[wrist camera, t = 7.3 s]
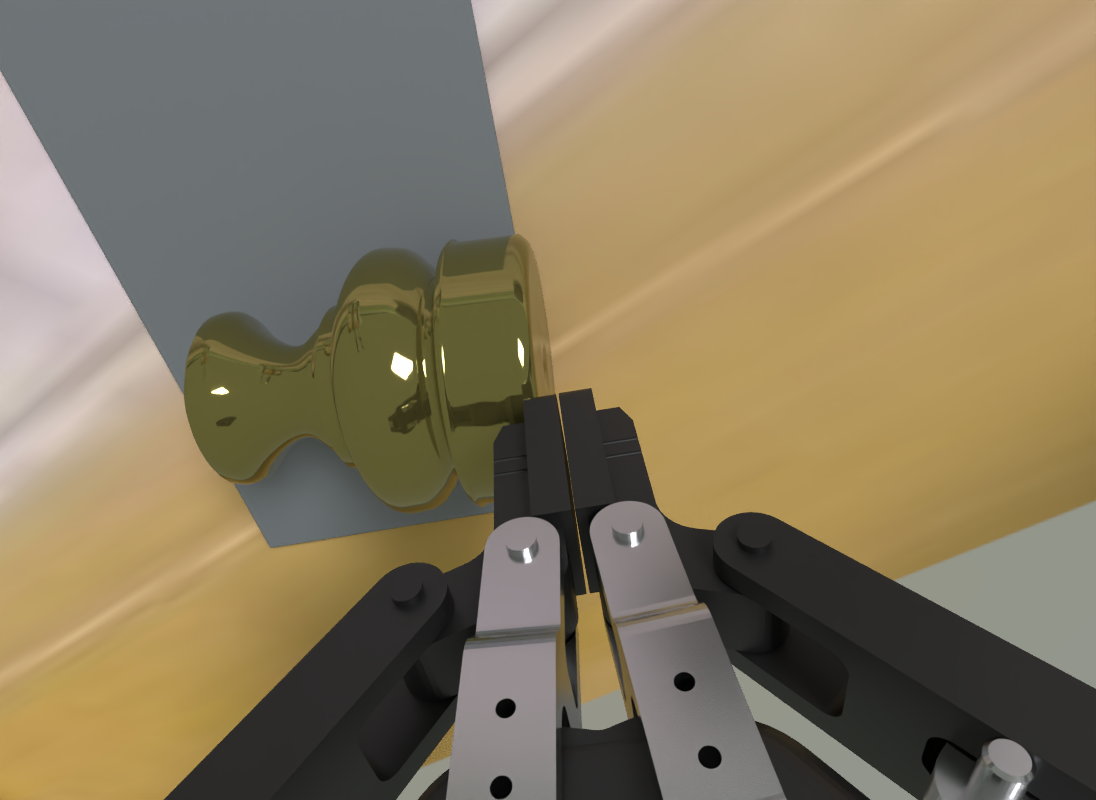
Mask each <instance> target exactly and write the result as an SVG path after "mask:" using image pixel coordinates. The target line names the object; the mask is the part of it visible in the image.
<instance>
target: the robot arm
mask: <svg viewBox="0 0 1096 800" xmlns="http://www.w3.org/2000/svg"><path fill="white" fill-rule="evenodd" d="M559 400H560V407H561V414H562V421H563V428H564V435H565V442H566V448H565V442H564V437H563V431H562V425H561V420H560V414H559V408H558V403H557V397H556V394H553V395H547V396H541V397H535V398H528V399H523V407H524V423H518V424H512V425H506V426H503V427H502V428H501V430H500V432H499V434H498V435H497V437H496V439H495V441H494V443H493V454H494V531H493V532H492V533H491V535H490V536H489V538H488V539H487V542H486V544H485V550H484V551H483V552H482V553H481V554H480V555H478V556H477V557H476V558H475V559H473V560H471V561H470V562H468V563H466V564H464V565H462V566H460V567H457V568H455V569H453V570H451V571H448V572H446V573H444V574H443V573H442V571H441V570H440V569H438V568H437V567H435V566H433V565H430V564H427V563H410V564H406V565H403V566H400V567H398V568H396V569H394V570H392V571H390V572H389V573H387V574H386V575H385V576H384V577H383V578H381V579H380V580H379V581H378V582H377V583H376V584H375V585H374V586H373V587H372V589H371V590H370V591H369V592H368V593H367V594H366V595H365V596H364V597H363V598H362V599H361V600H360V601H359V602H358V603H357V604H356V605H355V606H354V607H353V608H352V609H351V610H350V611H349V612H348V613H347V614H346V615H345V616H344V617H343V618H342V619H341V620H340V621H339V622H338V623H337V624H336V625H335V626H334V627H333V628H332V629H331V630H330V631H329V632H328V633H327V634H326V635H325V636H324V637H323V638H322V639H321V640H320V641H319V642H318V643H317V644H316V645H315V646H314V647H313V649H312V650H311V651H310V652H309V653H308V654H307V655H306V656H305V657H304V658H303V659H302V660H301V661H300V662H299V663H298V664H297V665H296V666H295V667H294V668H293V669H292V670H291V671H290V672H289V673H288V674H287V675H286V676H285V677H284V678H283V679H282V680H281V681H280V682H279V683H278V684H277V685H276V686H275V687H274V688H273V689H272V690H271V691H270V692H269V693H268V694H267V695H266V696H265V697H264V698H263V699H262V700H261V701H260V702H259V703H258V704H257V705H256V706H255V707H254V708H253V710H252V711H251V712H250V713H249V714H248V715H247V716H246V717H245V718H244V719H243V720H242V721H241V722H240V723H239V724H238V725H237V726H236V727H235V728H234V729H233V730H232V731H231V732H230V733H229V734H228V735H227V736H226V737H225V738H224V739H223V740H222V741H221V742H220V743H219V744H218V745H217V746H216V747H215V748H214V749H213V750H212V751H211V752H210V753H209V754H208V755H207V756H206V757H205V758H204V759H203V760H202V761H201V762H200V763H199V764H198V765H197V766H196V767H195V768H194V769H193V771H192V772H191V773H190V774H189V775H188V776H187V777H186V778H185V779H184V780H183V781H182V782H181V783H180V784H179V785H178V786H177V787H176V788H175V789H174V790H173V791H172V792H171V793H170V794H169V795H168V796H167V797H166V798H165V799H164V800H396V799H397V798H398V796H399V795H400V794H401V792H402V791H403V790H404V788H405V787H406V786H407V784H408V783H409V782H410V780H411V779H412V778H413V776H414V775H415V774H416V773H417V771H418V770H419V769H420V767H421V766H422V765H423V763H424V762H425V761H426V759H427V758H428V757H429V755H430V754H431V753H432V751H433V750H434V749H435V747H436V746H437V745H438V743H439V742H440V741H441V739H442V738H443V737H444V735H445V734H446V733H447V732H448V730H449V729H450V728H451V726H452V725H453V724H454V722H455V727H454V735H453V744H452V752H451V761H450V769H448V770H447V771H446V772H444V773H443V774H442V775H441V776H440V777H439V778H437V779H436V780H435V781H434V782H433V783H432V784H431V785H430V786H429V787H428V788H427V790H426V791H425V792H424V793H423V794H422V795H421V796H420V798H419V799H418V800H870V799H869V798H868V797H866V796H865V795H864V794H863V793H862V792H860V791H859V790H858V789H857V788H855V787H854V786H853V785H852V784H850V783H849V782H848V781H847V780H845V779H844V778H843V777H841V776H840V775H839V774H838V773H837V772H836V771H834V770H833V769H832V768H831V767H829V766H828V765H827V764H826V763H824V762H823V761H822V760H821V759H819V758H818V757H817V756H816V755H814V754H813V753H812V752H811V751H809V750H808V749H807V748H805V747H804V746H803V745H802V744H800V743H799V742H797V741H796V740H794V739H793V738H791V737H789V736H788V735H786V734H785V733H783V732H781V731H779V730H777V729H774V728H772V727H770V726H768V725H765V724H762V723H759V722H756V721H754V719H753V716H752V714H751V711H750V709H749V706H748V704H747V702H746V699H745V697H744V694H743V692H742V689H741V687H740V685H739V682H738V679H737V677H736V674H735V672H734V670H733V667H732V665H734V666H735V667H736V668H738V669H739V670H741V671H742V672H743V673H745V674H746V675H747V676H749V677H750V678H752V679H753V680H754V681H756V682H757V683H758V684H760V685H761V686H763V687H764V688H765V689H767V690H768V691H770V692H771V693H772V694H774V695H775V696H776V697H778V698H779V699H781V700H782V701H783V702H784V703H786V704H787V705H789V706H790V707H791V708H793V709H794V710H796V711H797V712H798V713H800V714H801V715H802V716H804V717H805V718H807V719H808V720H809V721H811V722H812V723H813V724H815V725H816V726H817V727H819V728H820V729H822V730H823V731H824V732H826V733H827V734H828V735H830V736H831V737H833V738H834V739H836V740H837V741H838V742H840V743H841V744H842V745H844V746H845V747H847V748H848V749H849V750H851V751H852V752H853V753H855V754H856V755H857V756H859V757H860V758H861V759H863V760H864V761H866V762H867V763H868V764H870V765H871V766H872V767H874V768H875V769H877V770H878V771H879V772H881V773H882V774H883V775H885V776H886V777H888V778H889V779H890V780H892V781H893V782H894V783H896V784H897V785H899V786H900V787H901V788H903V789H904V790H906V791H907V792H908V793H910V794H911V795H912V796H914V797H915V798H916V799H918V800H1096V689H1095V688H1093V687H1091V686H1089V685H1087V684H1086V683H1084V682H1082V681H1080V680H1078V679H1076V678H1074V677H1072V676H1071V675H1069V674H1067V673H1065V672H1063V671H1061V670H1059V669H1057V668H1056V667H1054V666H1052V665H1050V664H1048V663H1046V662H1044V661H1042V660H1040V659H1039V658H1037V657H1035V656H1033V655H1031V654H1029V653H1028V652H1026V651H1024V650H1022V649H1020V648H1018V647H1016V646H1014V645H1013V644H1010V643H1009V642H1007V641H1005V640H1003V639H1001V638H1000V637H998V636H996V635H994V634H992V633H990V632H988V631H986V630H985V629H983V628H981V627H979V626H977V625H975V624H973V623H971V622H970V621H968V620H966V619H964V618H962V617H960V616H958V615H957V614H955V613H953V612H951V611H949V610H947V609H945V608H943V607H941V606H940V605H938V604H936V603H934V602H932V601H930V600H928V599H927V598H925V597H923V596H921V595H919V594H917V593H915V592H914V591H912V590H909V589H908V588H906V587H904V586H902V585H900V584H899V583H897V582H895V581H893V580H891V579H889V578H887V577H885V576H884V575H882V574H880V573H878V572H876V571H874V570H872V569H871V568H869V567H867V566H865V565H863V564H861V563H859V562H857V561H856V560H854V559H852V558H850V557H848V556H846V555H844V554H842V553H841V552H839V551H837V550H835V549H833V548H831V547H829V546H827V545H826V544H824V543H822V542H820V541H818V540H816V539H814V538H813V537H811V536H809V535H807V534H805V533H803V532H801V531H799V530H798V529H796V528H794V527H792V526H790V525H788V524H786V523H784V522H783V521H781V520H779V519H777V518H775V517H772V516H770V515H766V514H762V513H754V512H747V513H740V514H736V515H733V516H730V517H728V518H727V519H725V520H724V521H722V522H721V523H720V524H719V525H718V526H717V528H716V530H705V529H696V528H689V527H686V526H682V525H680V524H677V523H675V522H673V521H671V520H670V519H668V518H667V517H666V516H665V515H664V514H663V513H662V512H661V511H660V510H659V508H658V507H657V504H656V502H655V498H654V495H653V491H652V487H651V484H650V480H649V477H648V473H647V469H646V466H645V462H644V459H643V455H642V452H641V448H640V444H639V441H638V437H637V433H636V430H635V426H634V423H633V420H632V419H631V418H630V417H629V416H628V415H627V414H626V413H625V412H624V411H623V410H622V409H621V408H620V407H616V408H610V409H604V410H598V411H596V408H595V403H594V398H593V394H592V389H591V388H589V389H583V390H577V391H571V392H564V393H559ZM566 449H567V454H566ZM567 456H568V460H567ZM568 463H569V466H568ZM569 470H570V473H569ZM570 477H571V480H570ZM571 485H572V487H571ZM572 492H573V494H572ZM573 499H574V501H573ZM574 506H575V508H574ZM575 512H576V515H575ZM576 518H577V523H578V529H579V535H580V540H581V546H582V551H583V557H584V563H585V568H586V574H587V580H588V585H589V591H590V593H595V592H600V598H601V604H602V610H603V616H604V622H605V628H606V633H607V637H608V640H609V644H610V648H611V652H612V656H613V660H614V664H615V668H616V672H617V676H618V680H619V684H620V688H621V692H622V696H623V700H624V704H625V708H626V712H627V717H628V720H626V721H624V722H621V723H619V724H617V725H615V726H612V727H610V728H607V729H604V730H589V729H582V720H581V692H580V663H579V634H578V627H577V623H578V608H577V600H576V596H577V595H583V594H586V587H585V579H584V572H583V565H582V558H581V551H580V544H579V537H578V530H577V523H576ZM731 664H732V665H731Z"/></svg>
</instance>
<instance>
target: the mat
mask: <svg viewBox="0 0 1096 800" xmlns="http://www.w3.org/2000/svg"><path fill="white" fill-rule="evenodd" d="M0 70H1V72H2V74H3V76H4V77H5V79H6V81H7V83H8V85H9V86H10V88H11V90H12V92H13V93H14V95H15V97H16V99H17V100H18V102H19V104H20V106H21V108H22V109H23V111H24V113H25V115H26V116H27V118H28V120H29V122H30V123H31V125H32V127H33V129H34V130H35V132H36V134H37V136H38V138H39V139H40V141H41V143H42V145H43V146H44V148H45V150H46V152H47V153H48V155H49V157H50V159H51V161H52V162H53V164H54V166H55V168H56V169H57V171H58V173H59V175H60V176H61V178H62V180H63V182H64V184H65V185H66V187H67V189H68V191H69V192H70V194H71V196H72V198H73V199H74V201H75V203H76V205H77V207H78V208H79V210H80V212H81V214H82V215H83V217H84V219H85V221H86V222H87V224H88V226H89V228H90V230H91V231H92V233H93V235H94V237H95V238H96V240H97V242H98V244H99V245H100V247H101V249H102V251H103V253H104V254H105V256H106V258H107V260H108V261H109V263H110V265H111V267H112V268H113V270H114V272H115V274H116V276H117V277H118V279H119V281H120V283H121V284H122V286H123V288H124V290H125V291H126V293H127V295H128V297H129V299H130V300H131V302H132V304H133V306H134V307H135V309H136V311H137V313H138V314H139V316H140V318H141V320H142V322H143V323H144V325H145V327H146V329H147V330H148V332H149V334H150V336H151V337H152V339H153V341H154V343H155V345H156V346H157V348H158V350H159V352H160V353H161V355H162V357H163V359H164V360H165V362H166V364H167V366H168V367H169V369H170V371H171V373H172V375H173V376H174V378H175V380H176V382H177V383H178V385H179V387H180V389H181V390H182V392H183V394H184V377H185V367H186V361H187V357H188V353H189V349H190V346H191V344H192V341H193V339H194V337H195V335H196V333H197V331H198V330H199V328H200V327H201V326H202V324H203V323H204V322H205V321H206V320H207V319H209V318H210V317H212V316H214V315H217V314H220V313H224V312H229V311H239V312H243V313H246V314H249V315H251V316H253V317H254V318H256V319H257V320H259V321H260V322H261V323H262V324H263V325H265V327H266V328H267V329H268V330H269V331H270V332H271V333H272V335H274V336H275V337H276V338H277V339H279V340H280V341H282V342H284V343H286V344H289V345H293V346H299V345H302V344H304V343H305V342H307V341H308V340H309V338H310V337H311V336H312V335H313V334H314V332H315V331H316V330H317V329H318V328H319V326H320V323H321V321H322V319H323V317H324V315H325V314H326V312H327V311H328V310H329V309H330V308H331V307H333V306H334V305H337V302H338V298H339V295H340V292H341V289H342V287H343V284H344V282H345V280H346V278H347V276H348V274H349V272H350V271H351V269H352V268H353V266H354V265H355V264H356V262H357V261H358V260H359V259H360V258H361V257H363V256H364V255H365V254H367V253H368V252H370V251H372V250H375V249H378V248H384V247H393V248H407V249H410V250H413V251H415V252H416V253H418V254H419V255H421V256H422V257H423V258H425V259H426V260H427V261H428V262H429V263H430V264H431V265H432V266H433V267H434V268H435V269H436V267H437V262H438V258H439V255H440V253H441V251H442V249H443V247H444V246H445V245H446V244H447V243H448V242H449V241H450V240H451V239H455V240H457V241H458V242H460V241H468V240H476V239H483V238H491V237H499V236H506V235H514V234H515V233H514V227H513V222H512V217H511V211H510V206H509V201H508V196H507V190H506V185H505V180H504V174H503V169H502V164H501V158H500V153H499V148H498V142H497V137H496V132H495V127H494V121H493V116H492V111H491V105H490V100H489V95H488V89H487V84H486V79H485V73H484V68H483V63H482V58H481V52H480V47H479V42H478V36H477V31H476V26H475V20H474V15H473V10H472V4H471V0H0ZM234 484H235V486H236V488H237V490H238V491H239V493H240V495H241V497H242V498H243V500H244V502H245V504H246V505H247V507H248V509H249V511H250V513H251V514H252V516H253V518H254V520H255V521H256V523H257V525H258V527H259V528H260V530H261V532H262V534H263V536H264V537H265V539H266V541H267V543H268V544H269V546H270V548H273V547H279V546H285V545H292V544H298V543H304V542H310V541H317V540H323V539H329V538H335V537H342V536H348V535H354V534H360V533H367V532H373V531H379V530H385V529H391V528H398V527H404V526H410V525H416V524H423V523H429V522H435V521H441V520H448V519H454V518H460V517H466V516H473V515H479V514H485V513H491V512H494V503H488V504H487V505H486V506H485V507H480V506H478V505H477V504H475V503H474V502H472V501H471V500H470V498H469V497H468V496H467V494H466V493H465V491H464V489H463V487H462V485H461V483H459V485H458V486H457V488H456V489H455V491H454V492H453V494H452V495H451V496H450V497H449V498H448V499H447V500H446V501H445V502H444V503H443V504H442V505H441V506H439V507H437V508H435V509H431V510H427V511H423V512H418V513H403V512H399V511H396V510H394V509H392V508H390V507H388V506H387V505H386V504H384V503H383V502H382V501H381V500H379V499H378V498H377V497H376V496H375V495H374V493H373V492H372V491H371V490H370V489H369V487H368V486H367V485H366V483H365V482H364V480H363V479H362V477H361V475H360V474H359V472H358V470H357V469H354V468H351V467H349V466H348V465H346V464H345V463H344V462H343V461H342V460H341V459H340V458H339V457H338V456H337V454H336V453H335V451H334V450H332V449H331V448H329V447H328V446H327V445H325V444H324V443H323V442H321V441H320V440H318V439H316V438H306V439H303V440H302V441H300V442H298V443H297V444H296V445H295V446H294V447H293V448H292V449H291V450H290V451H289V452H288V454H287V456H286V458H285V460H284V462H283V463H282V465H281V466H280V468H279V469H278V470H277V471H276V472H275V473H274V474H273V475H272V476H271V477H270V478H268V479H267V480H265V481H263V482H260V483H257V484H236V483H234Z"/></svg>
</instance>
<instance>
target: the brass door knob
mask: <svg viewBox="0 0 1096 800" xmlns="http://www.w3.org/2000/svg"><path fill="white" fill-rule="evenodd" d="M553 394H555V386H554V376H553V366H552V357H551V348H550V340H549V332H548V324H547V317H546V310H545V304H544V298H543V292H542V286H541V281H540V276H539V271H538V266H537V262H536V259H535V255H534V252H533V250H532V247H531V245H530V244H529V242H528V241H527V240H526V239H525V238H524V237H523V236H521V235H519V234H514V235H506V236H499V237H491V238H483V239H476V240H468V241H460V242H458V241H457V240H455V239H451V240H450V241H449V242H448V243H447V244H446V245H445V246H444V247H443V249H442V251H441V253H440V255H439V258H438V262H437V267H436V269H435V268H434V267H433V266H432V265H431V264H430V263H429V262H428V261H427V260H426V259H425V258H423V257H422V256H421V255H419V254H418V253H416V252H415V251H413V250H410V249H407V248H393V247H384V248H378V249H375V250H372V251H370V252H368V253H367V254H365V255H364V256H363V257H361V258H360V259H359V260H358V261H357V262H356V264H355V265H354V266H353V268H352V269H351V271H350V272H349V274H348V276H347V278H346V280H345V282H344V284H343V287H342V289H341V292H340V295H339V298H338V302H337V305H334V306H333V307H331V308H330V309H329V310H328V311H327V312H326V314H325V315H324V317H323V319H322V321H321V323H320V326H319V328H318V329H317V330H316V331H315V332H314V334H313V335H312V336H311V337H310V338H309V340H308V341H307V342H305V343H304V344H302V345H299V346H293V345H289V344H286V343H284V342H282V341H280V340H279V339H277V338H276V337H275V336H274V335H272V333H271V332H270V331H269V330H268V329H267V328H266V327H265V325H263V324H262V323H261V322H260V321H259V320H257V319H256V318H254V317H253V316H251V315H249V314H246V313H243V312H239V311H229V312H224V313H220V314H217V315H214V316H212V317H210V318H209V319H207V320H206V321H205V322H204V323H203V324H202V326H201V327H200V328H199V330H198V331H197V333H196V335H195V337H194V339H193V341H192V344H191V346H190V349H189V353H188V357H187V361H186V367H185V377H184V400H185V407H186V413H187V417H188V421H189V424H190V427H191V430H192V433H193V436H194V438H195V441H196V443H197V445H198V447H199V449H200V451H201V452H202V454H203V456H204V457H205V459H206V460H207V462H208V463H209V464H210V466H211V467H212V468H213V469H214V470H215V471H216V472H217V473H218V474H219V475H220V476H221V477H223V478H224V479H226V480H228V481H230V482H232V483H236V484H257V483H260V482H263V481H265V480H267V479H268V478H270V477H271V476H272V475H273V474H274V473H275V472H276V471H277V470H278V469H279V468H280V466H281V465H282V463H283V462H284V460H285V458H286V456H287V454H288V452H289V451H290V450H291V449H292V448H293V447H294V446H295V445H296V444H297V443H298V442H300V441H302V440H303V439H306V438H316V439H318V440H320V441H321V442H323V443H324V444H325V445H327V446H328V447H329V448H331V449H332V450H334V451H335V453H336V454H337V456H338V457H339V458H340V459H341V460H342V461H343V462H344V463H345V464H346V465H348V466H349V467H351V468H354V469H357V470H358V472H359V474H360V475H361V477H362V479H363V480H364V482H365V483H366V485H367V486H368V487H369V489H370V490H371V491H372V492H373V493H374V495H375V496H376V497H377V498H378V499H379V500H381V501H382V502H383V503H384V504H386V505H387V506H388V507H390V508H392V509H394V510H396V511H399V512H403V513H418V512H423V511H427V510H431V509H435V508H437V507H439V506H441V505H442V504H443V503H444V502H445V501H446V500H447V499H448V498H449V497H450V496H451V495H452V494H453V492H454V491H455V489H456V488H457V486H458V485H459V483H461V485H462V487H463V489H464V491H465V493H466V494H467V496H468V497H469V498H470V500H471V501H472V502H474V503H475V504H477V505H478V506H480V507H485V506H486V505H487V504H488V503H494V454H493V443H494V441H495V439H496V437H497V435H498V434H499V432H500V430H501V428H502V427H503V426H506V425H512V424H518V423H524V407H523V399H528V398H535V397H541V396H547V395H553Z"/></svg>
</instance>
